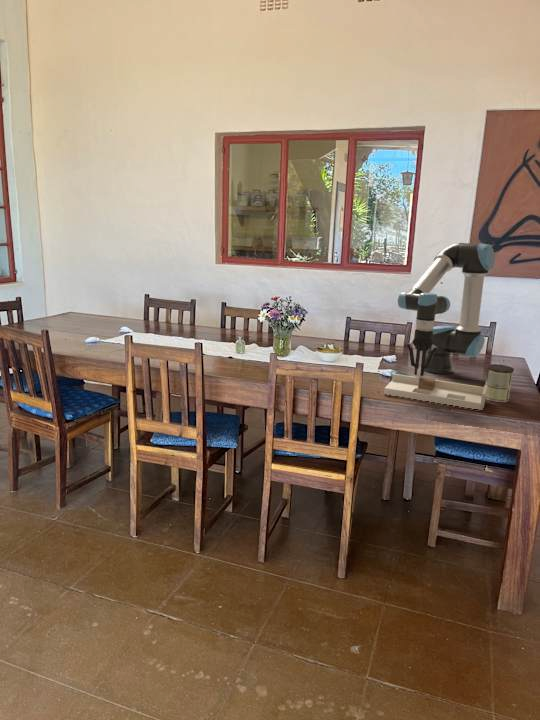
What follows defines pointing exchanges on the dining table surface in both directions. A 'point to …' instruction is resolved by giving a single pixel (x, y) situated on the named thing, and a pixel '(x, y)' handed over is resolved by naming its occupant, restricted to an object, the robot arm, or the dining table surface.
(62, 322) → the dining table surface
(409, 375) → the sunglasses
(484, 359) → the dining table surface
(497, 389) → the coffee can
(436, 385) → the box
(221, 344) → the dining table surface
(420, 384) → the block
